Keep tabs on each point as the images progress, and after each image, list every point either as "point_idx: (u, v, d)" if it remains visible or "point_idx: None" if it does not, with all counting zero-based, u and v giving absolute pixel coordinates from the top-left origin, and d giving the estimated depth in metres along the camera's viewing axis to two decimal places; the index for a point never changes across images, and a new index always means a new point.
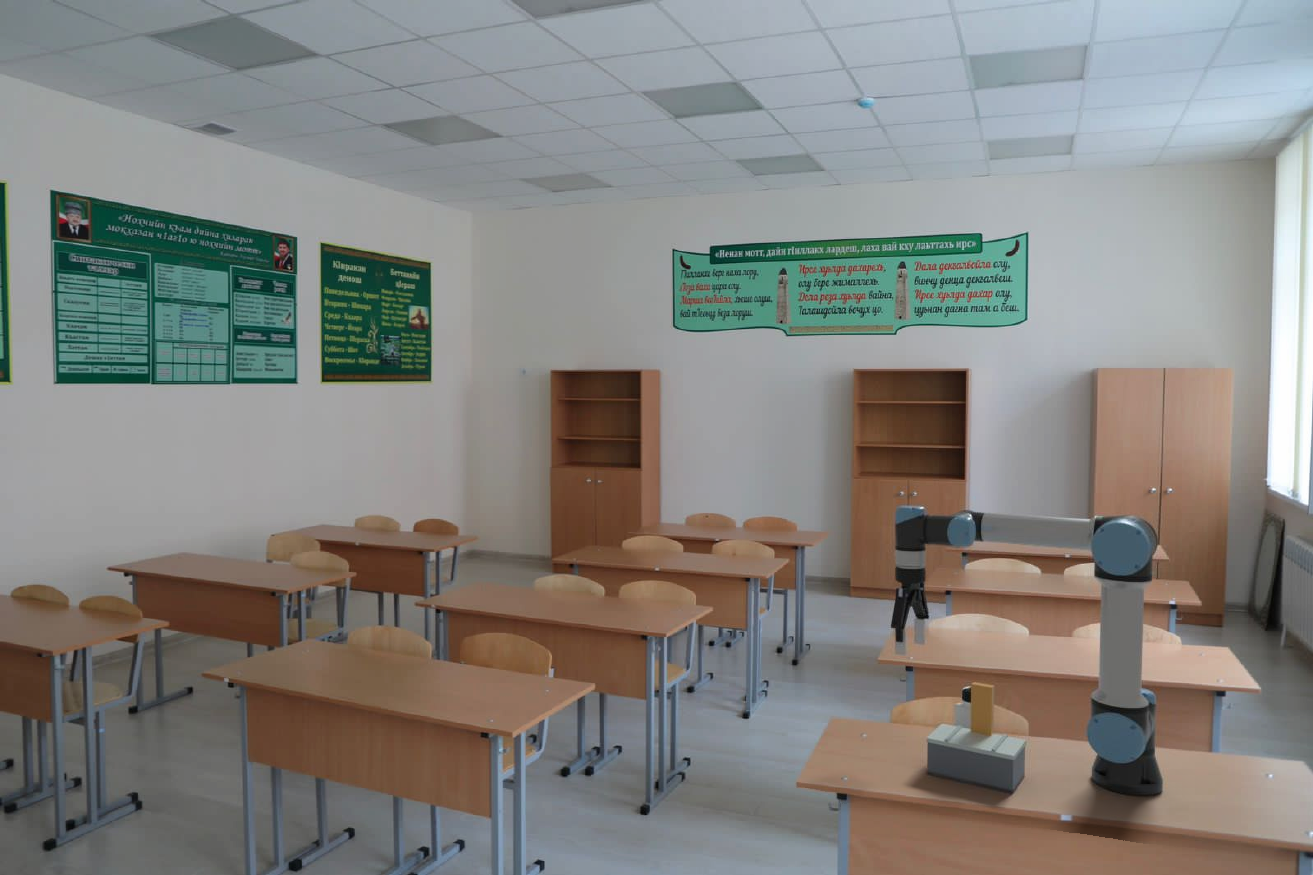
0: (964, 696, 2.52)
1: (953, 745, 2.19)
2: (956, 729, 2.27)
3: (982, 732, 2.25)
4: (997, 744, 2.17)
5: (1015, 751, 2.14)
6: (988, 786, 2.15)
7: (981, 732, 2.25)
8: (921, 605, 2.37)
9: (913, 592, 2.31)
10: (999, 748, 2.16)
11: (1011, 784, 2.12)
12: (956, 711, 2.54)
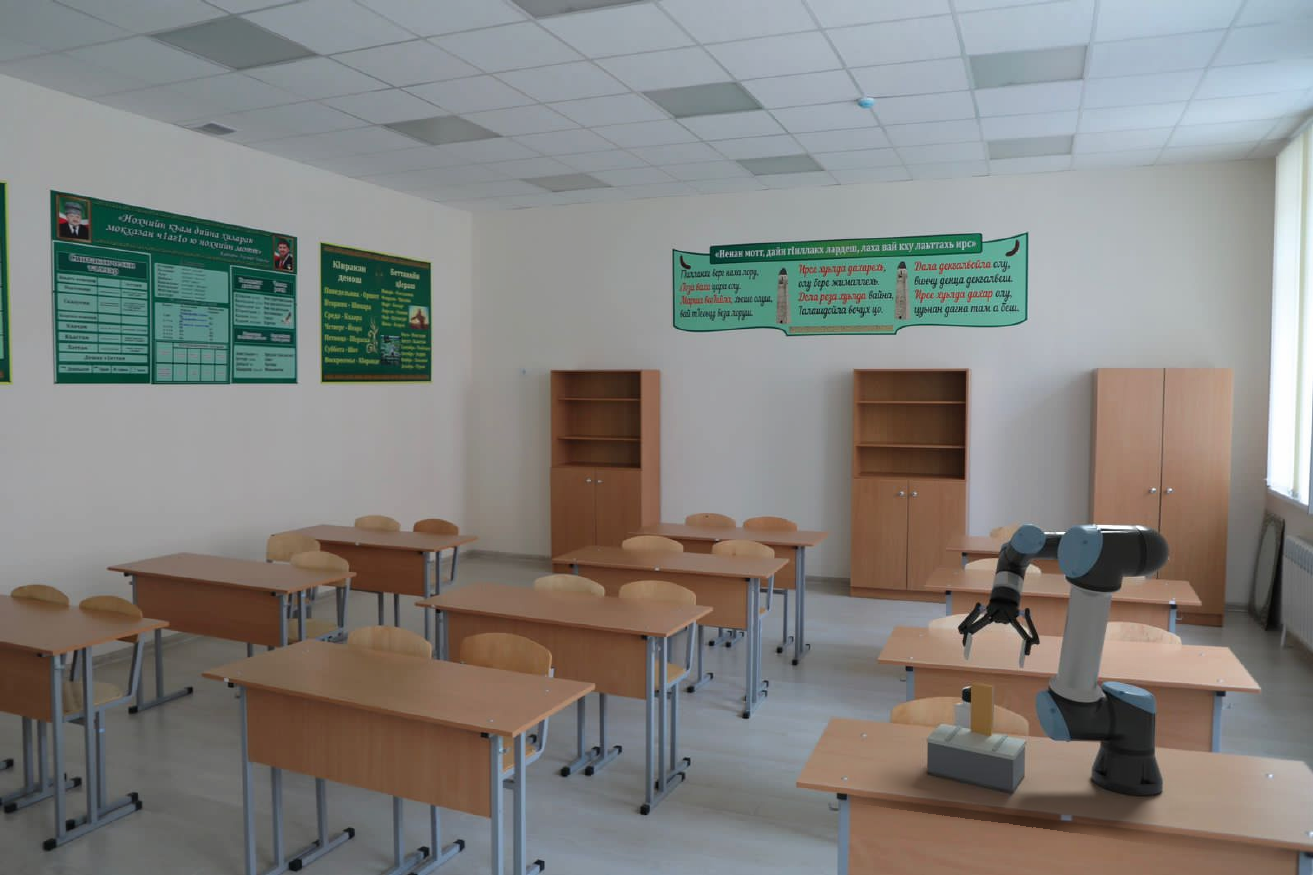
0: (964, 696, 2.52)
1: (953, 745, 2.19)
2: (956, 729, 2.27)
3: (982, 732, 2.25)
4: (997, 744, 2.17)
5: (1015, 751, 2.14)
6: (988, 786, 2.15)
7: (981, 732, 2.25)
8: (1018, 626, 2.37)
9: None
10: (999, 748, 2.16)
11: (1011, 784, 2.12)
12: (956, 711, 2.54)
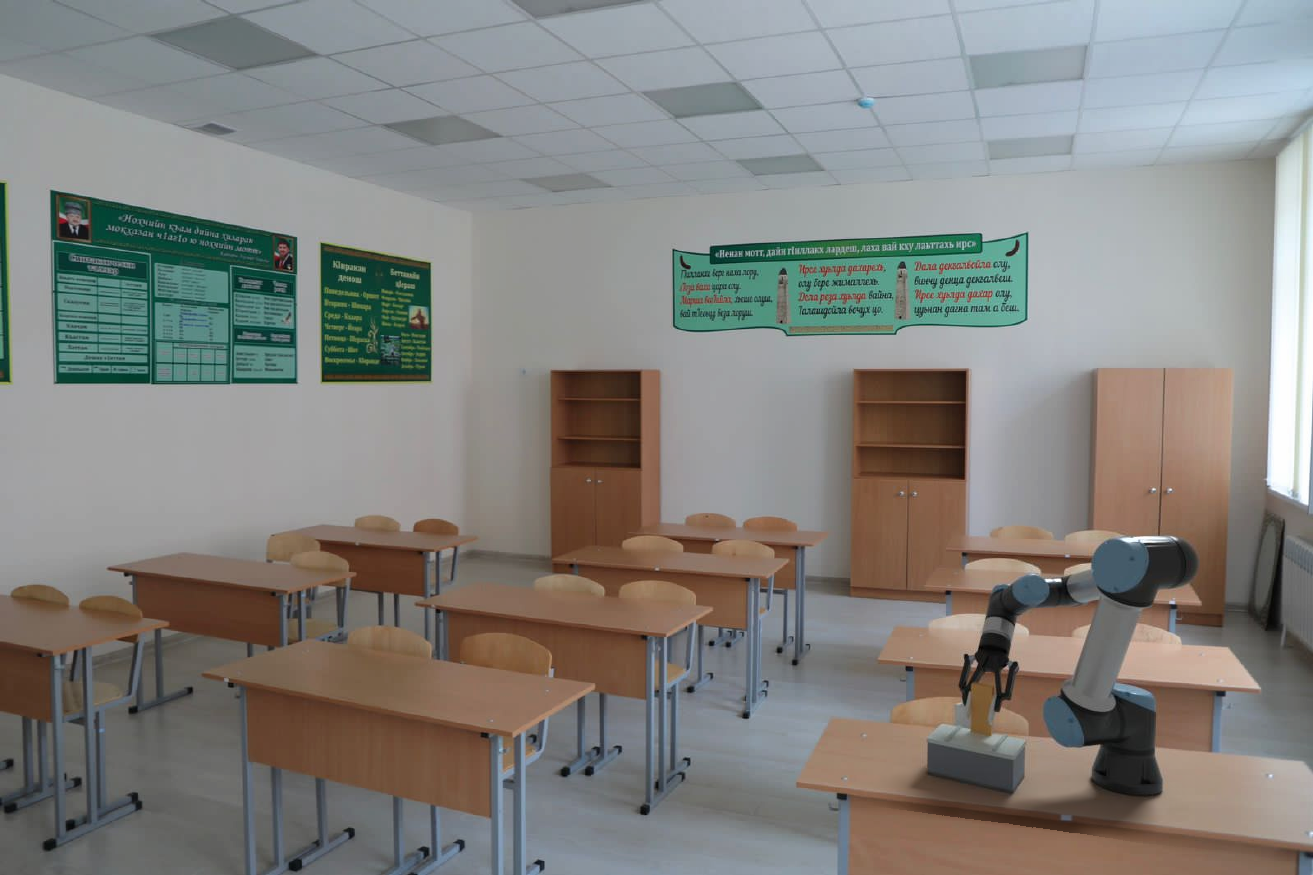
0: None
1: (953, 745, 2.19)
2: (956, 729, 2.27)
3: (982, 732, 2.25)
4: (997, 744, 2.17)
5: (1015, 751, 2.14)
6: (988, 786, 2.15)
7: (981, 732, 2.25)
8: (997, 678, 2.27)
9: None
10: (999, 748, 2.16)
11: (1011, 784, 2.12)
12: (956, 711, 2.54)
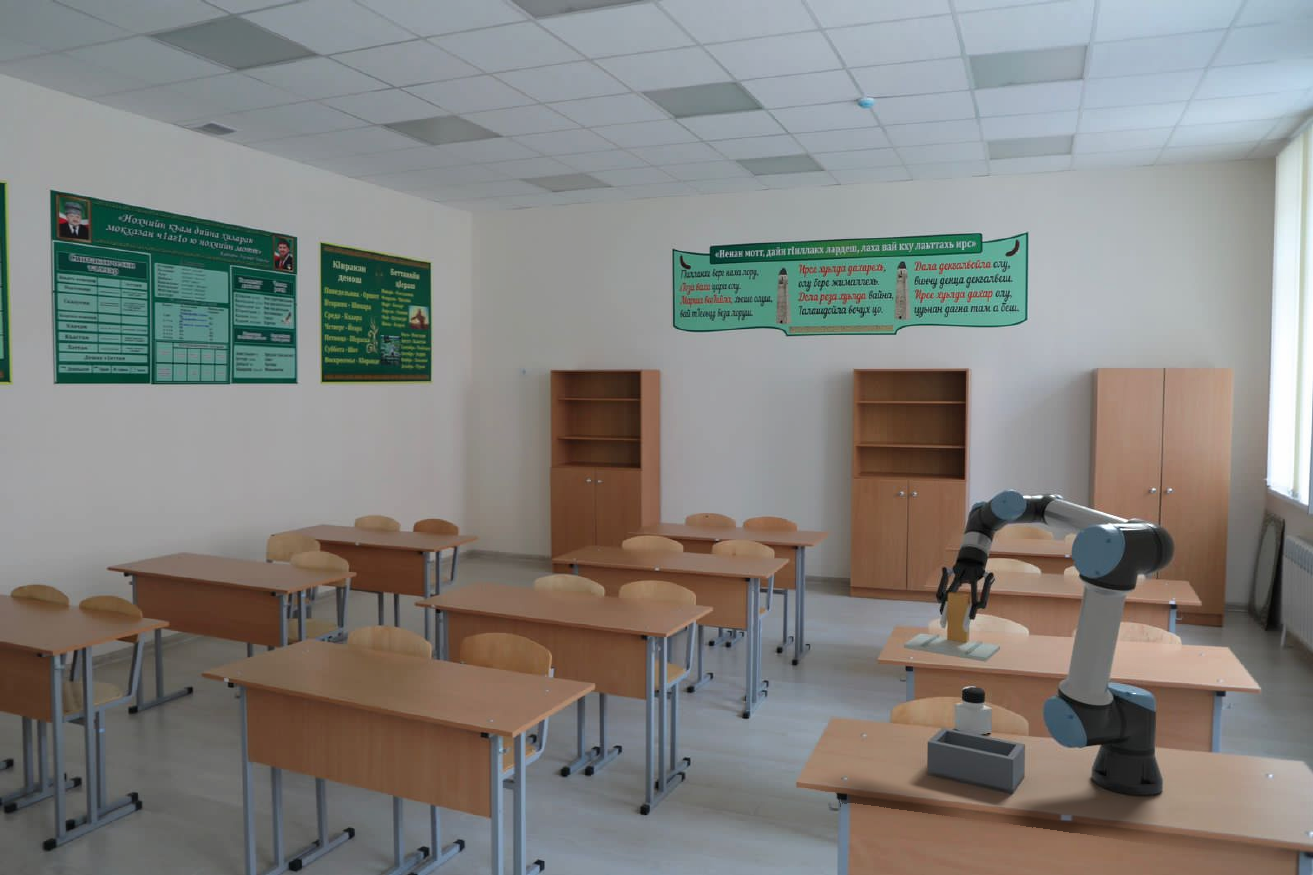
0: (964, 696, 2.52)
1: (929, 650, 2.28)
2: (933, 637, 2.36)
3: (958, 639, 2.34)
4: (971, 648, 2.26)
5: (988, 654, 2.23)
6: (988, 786, 2.15)
7: (957, 639, 2.34)
8: (973, 588, 2.36)
9: None
10: (972, 652, 2.25)
11: (1011, 784, 2.12)
12: (956, 711, 2.54)
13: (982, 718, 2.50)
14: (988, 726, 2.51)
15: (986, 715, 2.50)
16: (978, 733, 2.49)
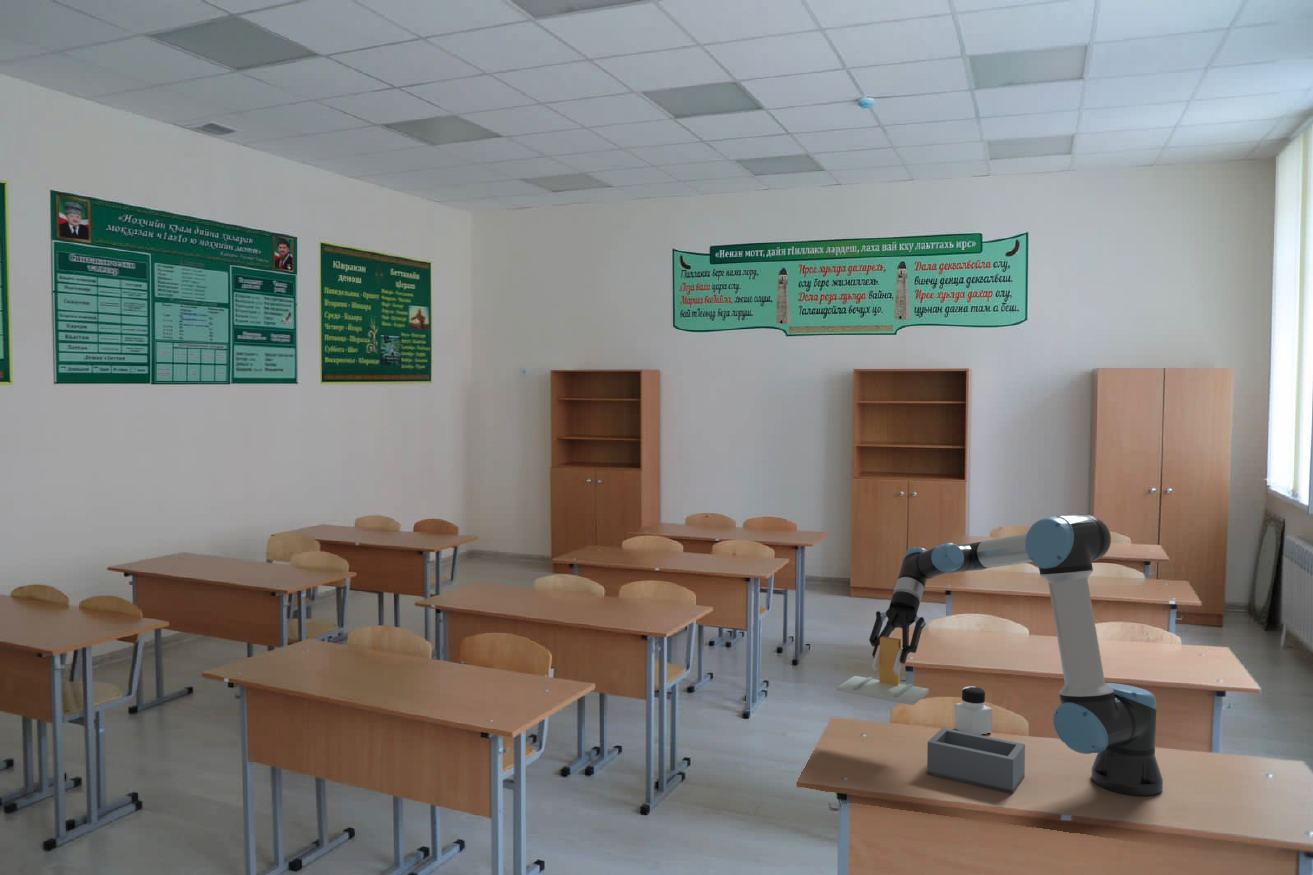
0: (964, 696, 2.52)
1: (860, 693, 2.36)
2: (866, 680, 2.44)
3: (889, 682, 2.42)
4: (900, 691, 2.34)
5: (915, 697, 2.31)
6: (988, 786, 2.15)
7: (889, 682, 2.43)
8: (904, 632, 2.44)
9: None
10: (901, 695, 2.33)
11: (1011, 784, 2.12)
12: (956, 711, 2.54)
13: (982, 718, 2.50)
14: (988, 726, 2.51)
15: (986, 715, 2.50)
16: (978, 733, 2.49)
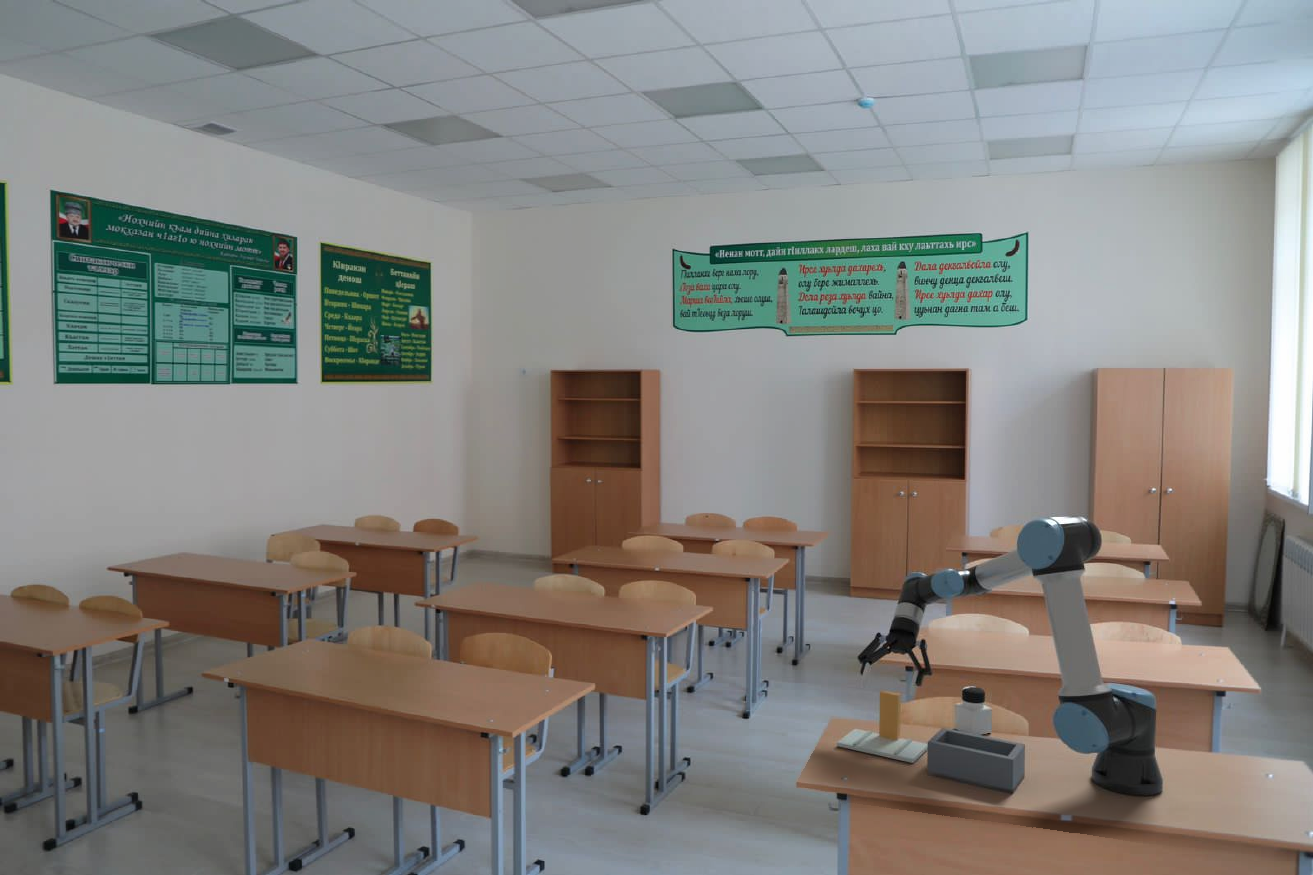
0: (964, 696, 2.52)
1: (860, 749, 2.37)
2: (866, 734, 2.45)
3: (889, 737, 2.43)
4: (900, 748, 2.35)
5: (915, 754, 2.32)
6: (988, 786, 2.15)
7: (888, 737, 2.43)
8: (912, 656, 2.44)
9: None
10: (901, 752, 2.34)
11: (1011, 784, 2.12)
12: (956, 711, 2.54)
13: (982, 718, 2.50)
14: (988, 726, 2.51)
15: (986, 715, 2.50)
16: (978, 733, 2.49)
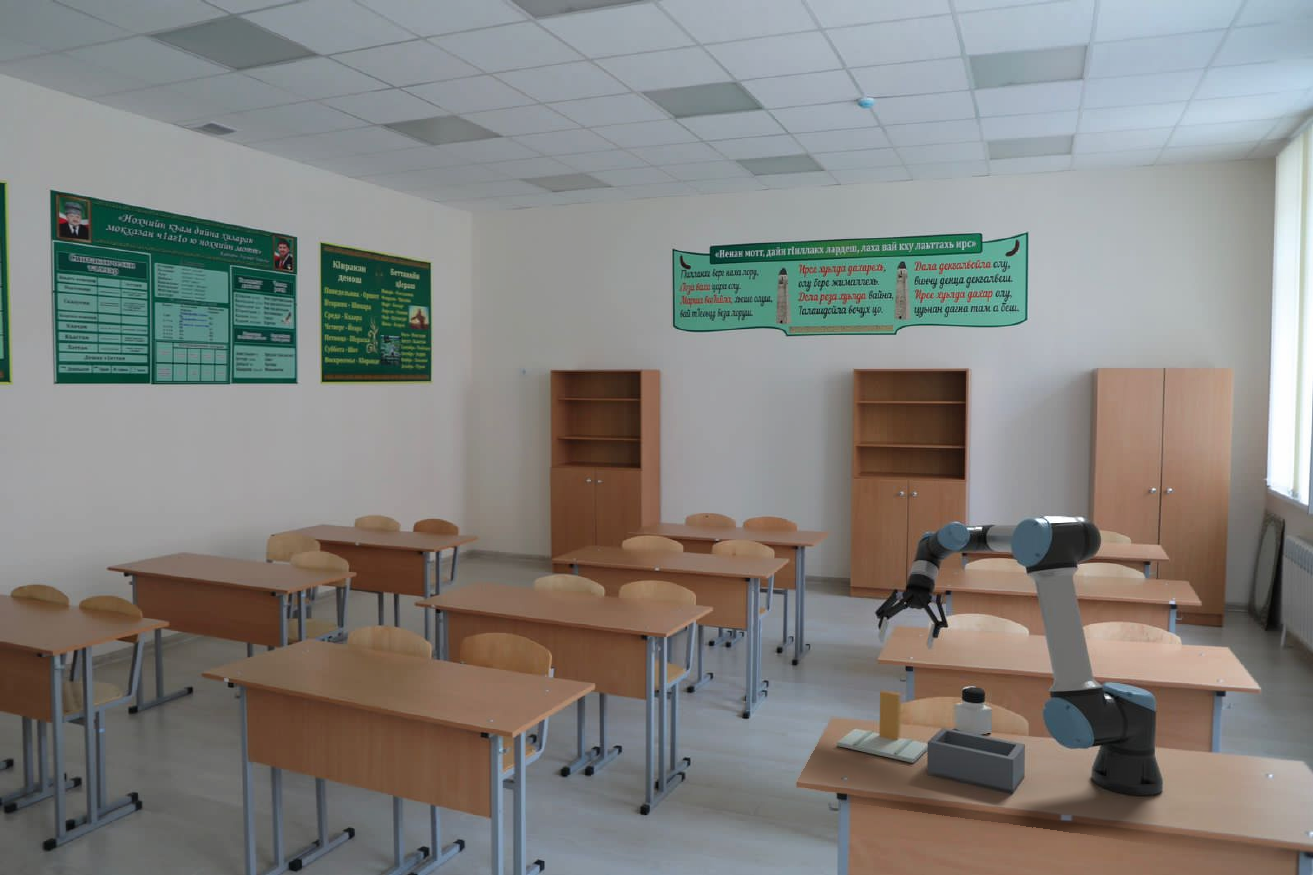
0: (964, 696, 2.52)
1: (860, 749, 2.37)
2: (866, 734, 2.45)
3: (889, 736, 2.43)
4: (900, 748, 2.35)
5: (915, 754, 2.32)
6: (988, 786, 2.15)
7: (889, 736, 2.43)
8: (929, 610, 2.54)
9: None
10: (901, 751, 2.34)
11: (1011, 784, 2.12)
12: (956, 711, 2.54)
13: (982, 718, 2.50)
14: (988, 726, 2.51)
15: (986, 715, 2.50)
16: (978, 733, 2.49)
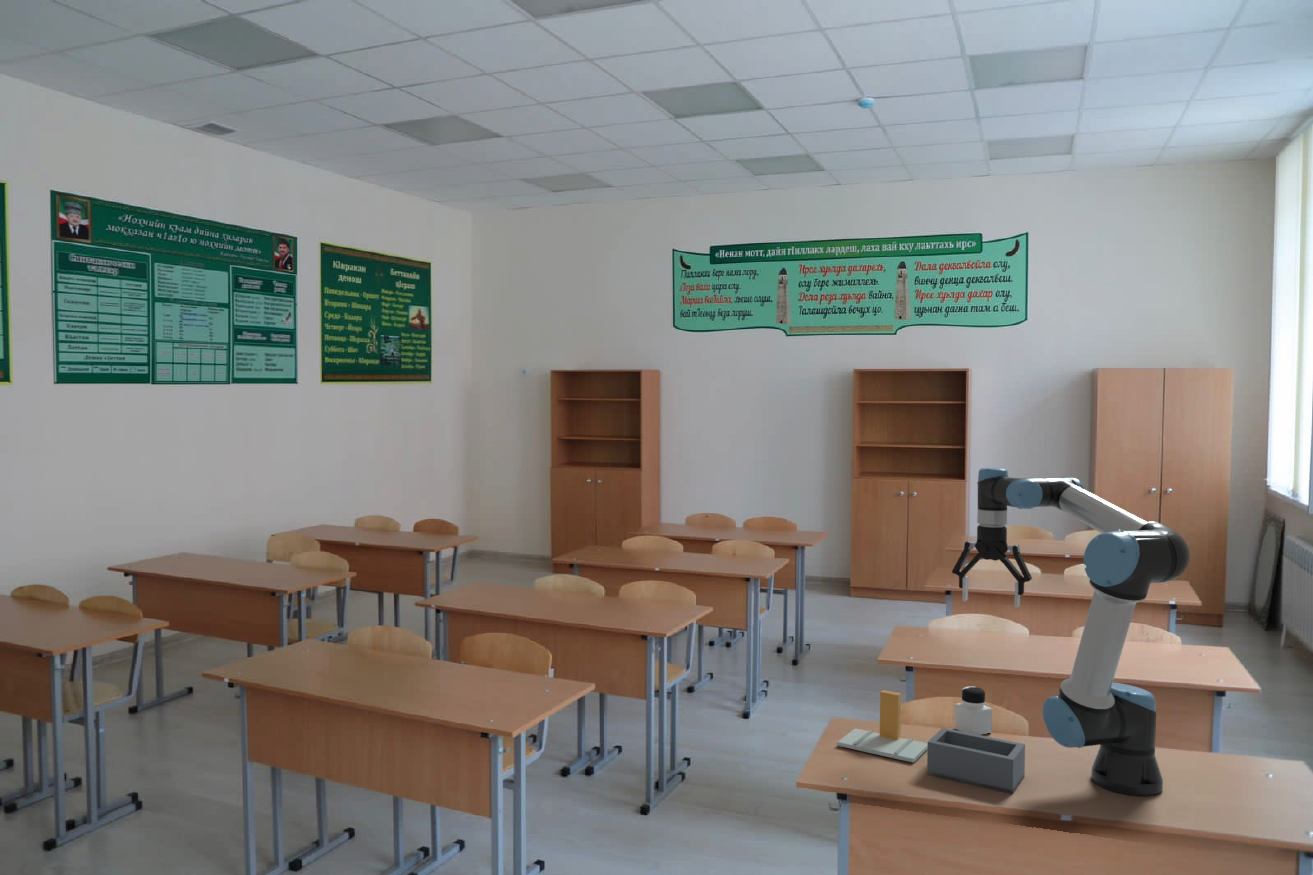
0: (964, 696, 2.52)
1: (860, 748, 2.37)
2: (866, 733, 2.45)
3: (890, 736, 2.43)
4: (900, 748, 2.35)
5: (916, 754, 2.32)
6: (988, 786, 2.15)
7: (889, 736, 2.43)
8: (1008, 567, 2.43)
9: (982, 548, 2.46)
10: (902, 751, 2.34)
11: (1011, 784, 2.12)
12: (956, 711, 2.54)
13: (982, 718, 2.50)
14: (988, 726, 2.51)
15: (986, 715, 2.50)
16: (978, 733, 2.49)
